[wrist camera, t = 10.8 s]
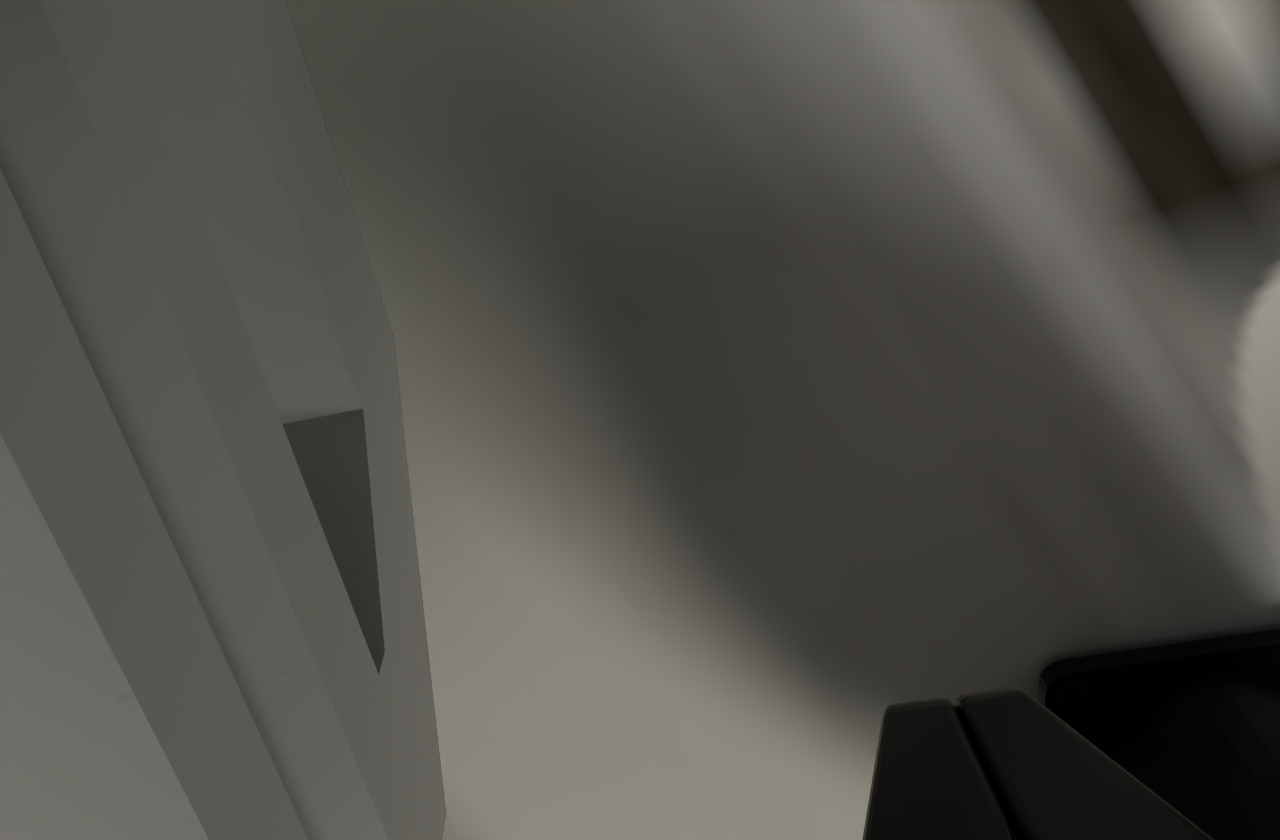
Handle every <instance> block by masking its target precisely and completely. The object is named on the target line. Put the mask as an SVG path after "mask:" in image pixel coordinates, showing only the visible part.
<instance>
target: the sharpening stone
mask: <svg viewBox="0 0 1280 840" xmlns="http://www.w3.org/2000/svg"><path fill="white" fill-rule="evenodd" d="M445 817H446V808H445V799H444V790H443V781H442V772H441V763H440V754H439V745H438V736H437V727H436V718H435V709H434V700H433V691H432V682H431V673H430V664H429V655H428V646H427V637H426V628H425V619H424V610H423V601H422V592H421V583H420V574H419V565H418V556H417V547H416V538H415V529H414V520H413V511H412V502H411V493H410V484H409V475H408V466H407V457H406V448H405V438H404V429H403V420H402V411H401V402H400V393H399V384H398V375H397V366H396V357H395V348H394V339H393V333H392V330H391V327H390V324H389V321H388V317H387V314H386V311H385V308H384V305H383V302H382V299H381V296H380V293H379V290H378V286H377V283H376V280H375V277H374V274H373V271H372V268H371V265H370V262H369V259H368V255H367V252H366V249H365V246H364V243H363V240H362V237H361V234H360V231H359V228H358V224H357V221H356V218H355V215H354V212H353V209H352V206H351V203H350V200H349V197H348V193H347V190H346V187H345V184H344V181H343V178H342V175H341V172H340V169H339V165H338V162H337V159H336V156H335V153H334V150H333V147H332V144H331V141H330V138H329V134H328V131H327V128H326V125H325V122H324V119H323V116H322V113H321V110H320V107H319V103H318V100H317V97H316V94H315V91H314V88H313V85H312V82H311V79H310V76H309V72H308V69H307V66H306V63H305V60H304V57H303V54H302V51H301V48H300V45H299V41H298V38H297V35H296V32H295V29H294V26H293V23H292V20H291V17H290V13H289V10H288V7H287V4H286V1H285V0H0V840H442V837H443V831H444V824H445Z"/></svg>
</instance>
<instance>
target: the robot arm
mask: <svg viewBox="0 0 1280 840" xmlns="http://www.w3.org/2000/svg"><path fill="white" fill-rule="evenodd" d="M1070 682H1075V683H1074V684H1073V685H1071V686H1070V687H1068V688H1065V689H1060V688H1061V687H1062V686H1063V685H1064V684H1067V683H1070ZM863 840H1280V629H1277V630H1270V631H1263V632H1256V633H1248V634H1241V635H1234V636H1227V637H1220V638H1213V639H1206V640H1199V641H1192V642H1184V643H1177V644H1170V645H1163V646H1156V647H1149V648H1142V649H1135V650H1127V651H1120V652H1113V653H1106V654H1099V655H1092V656H1085V657H1078V658H1071V659H1064V660H1060V661H1057V662H1054V663H1052V664H1051V665H1049V666H1048V667H1046V668H1045V670H1044V671H1043V672H1042V674H1041V675H1040V679H1039V701H1038V700H1036V699H1035V698H1034V697H1032V696H1031V695H1030V694H1028V693H1027V692H1025V691H1023V690H1020V689H1017V688H1006V689H999V690H991V691H984V692H977V693H970V694H964V695H961V696H960V697H958V698H957V699H956V700H955V702H954V704H952V703H951V702H950V701H949V700H946V699H944V698H934V699H927V700H920V701H913V702H906V703H899V704H893V705H890V706H889V707H887V708H886V710H885V712H884V714H883V718H882V723H881V730H880V736H879V742H878V748H877V754H876V760H875V766H874V773H873V779H872V785H871V791H870V797H869V803H868V809H867V815H866V822H865V828H864V834H863Z"/></svg>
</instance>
